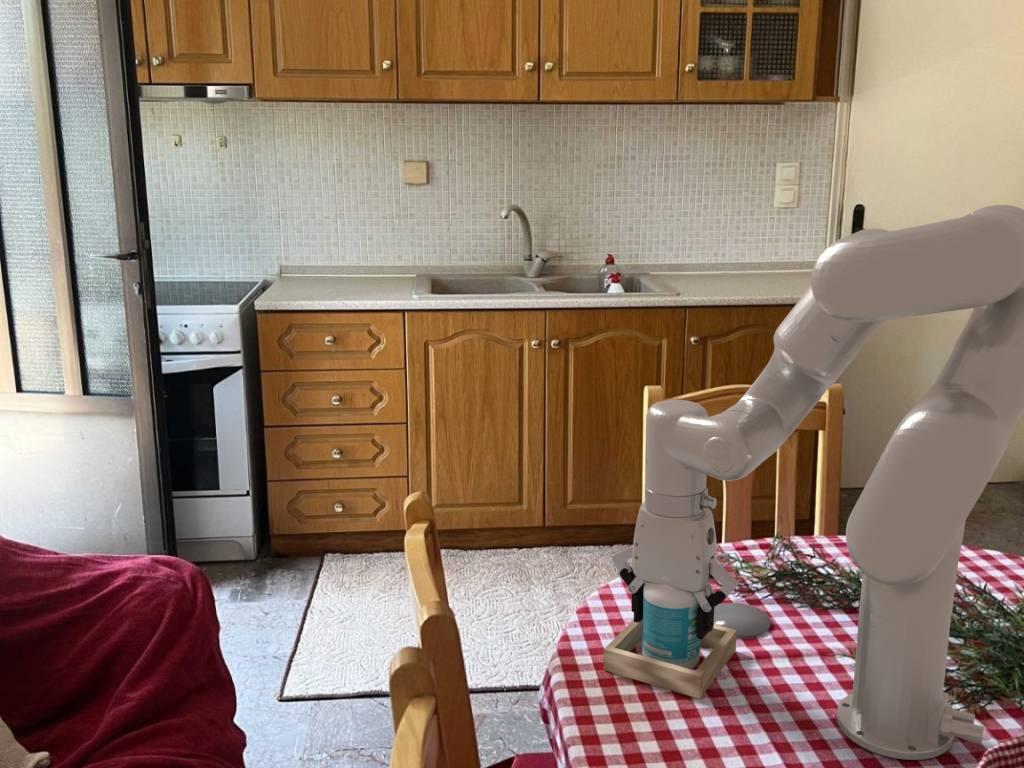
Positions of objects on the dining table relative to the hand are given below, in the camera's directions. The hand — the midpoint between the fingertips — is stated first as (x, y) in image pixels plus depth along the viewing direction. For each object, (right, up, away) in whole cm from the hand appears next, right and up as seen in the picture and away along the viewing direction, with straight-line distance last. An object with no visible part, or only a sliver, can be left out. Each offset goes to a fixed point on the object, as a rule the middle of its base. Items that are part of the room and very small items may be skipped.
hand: (671, 625), depth 129 cm
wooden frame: (0, -5, +1) cm, 5 cm away
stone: (+11, -2, +11) cm, 15 cm away
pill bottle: (0, -5, +1) cm, 5 cm away
